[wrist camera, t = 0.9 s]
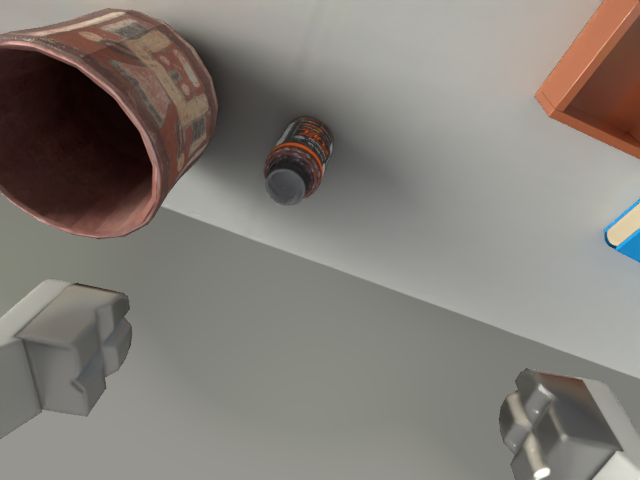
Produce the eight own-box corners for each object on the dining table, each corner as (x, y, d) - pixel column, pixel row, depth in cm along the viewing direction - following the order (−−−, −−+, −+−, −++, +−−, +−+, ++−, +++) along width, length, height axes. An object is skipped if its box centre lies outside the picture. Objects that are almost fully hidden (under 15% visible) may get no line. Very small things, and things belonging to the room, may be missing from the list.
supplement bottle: (343, 133, 47) (328, 182, 38) (318, 172, 51) (298, 225, 42) (298, 104, 46) (271, 148, 37) (275, 146, 50) (245, 195, 41)
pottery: (199, 181, 55) (126, 272, 41) (71, 100, 51) (-59, 170, 37) (262, 66, 44) (194, 134, 30) (108, -46, 40) (-54, -27, 26)
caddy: (624, 139, 43) (649, 164, 38) (533, 96, 42) (548, 116, 37) (723, 33, 36) (767, 49, 32) (618, -20, 35) (648, -12, 31)
